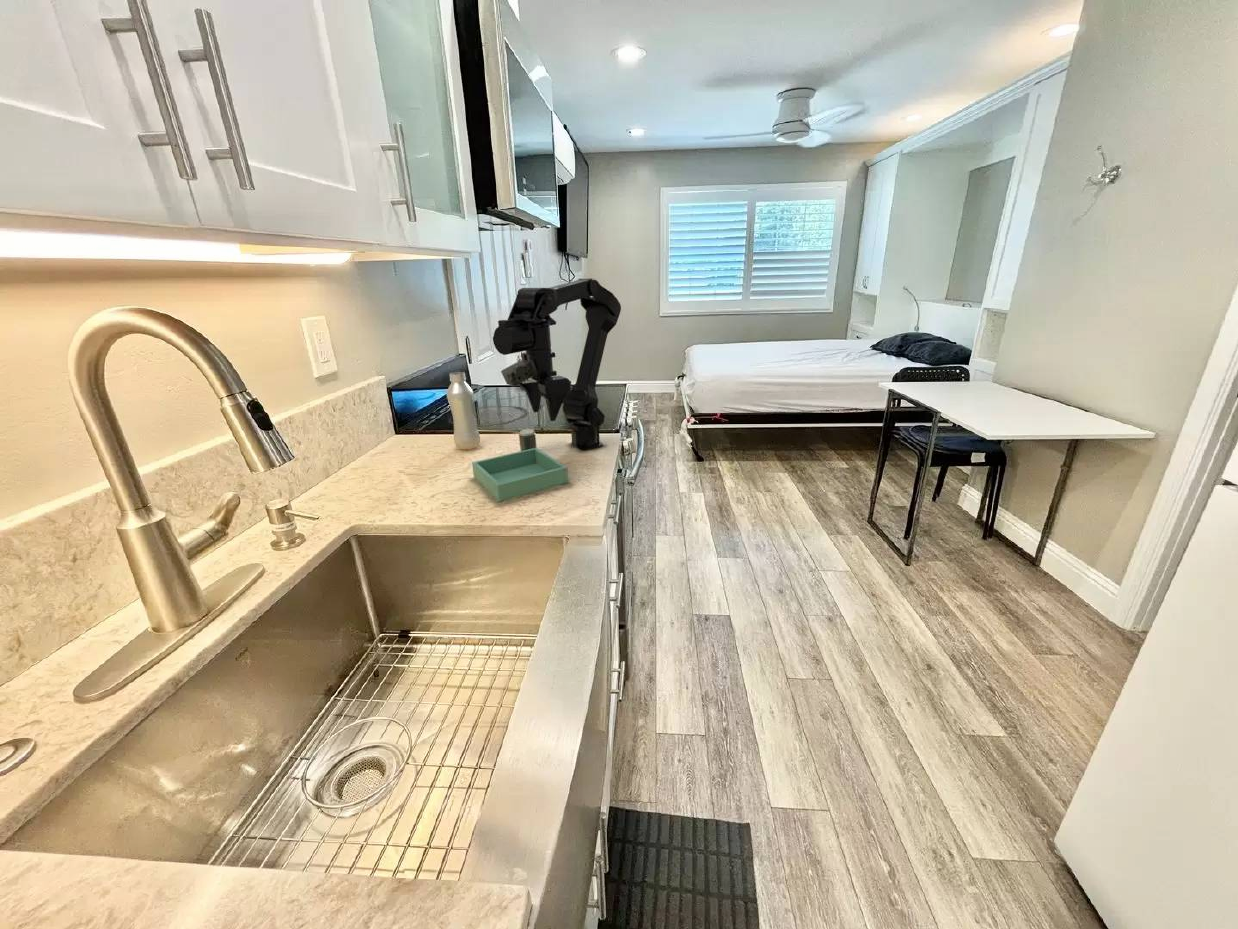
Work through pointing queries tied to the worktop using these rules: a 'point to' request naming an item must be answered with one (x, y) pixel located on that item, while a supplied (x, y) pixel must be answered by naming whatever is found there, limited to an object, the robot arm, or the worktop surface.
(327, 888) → the worktop surface
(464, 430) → the silver bottle
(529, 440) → the salt shaker
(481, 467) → the bin
